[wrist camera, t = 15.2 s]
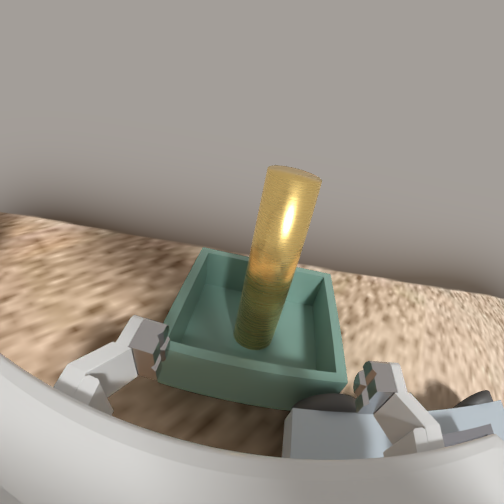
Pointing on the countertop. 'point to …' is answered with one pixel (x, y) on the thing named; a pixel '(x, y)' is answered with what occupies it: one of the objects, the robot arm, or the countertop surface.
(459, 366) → the countertop surface
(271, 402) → the tray
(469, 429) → the trolley
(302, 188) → the pin
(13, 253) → the countertop surface
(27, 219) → the countertop surface
